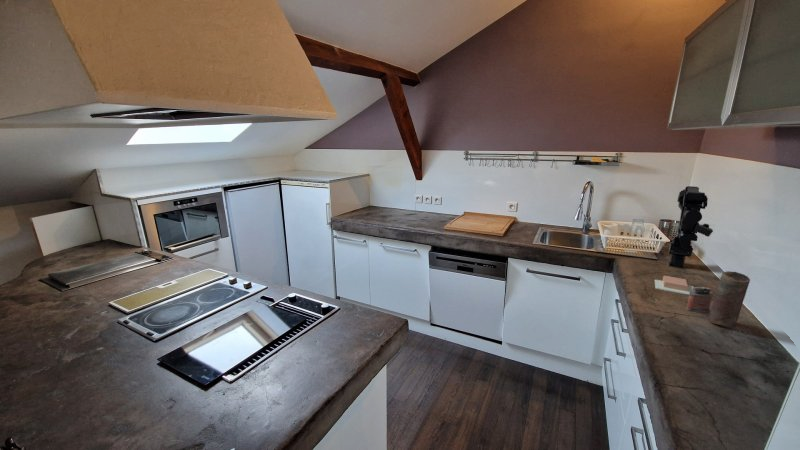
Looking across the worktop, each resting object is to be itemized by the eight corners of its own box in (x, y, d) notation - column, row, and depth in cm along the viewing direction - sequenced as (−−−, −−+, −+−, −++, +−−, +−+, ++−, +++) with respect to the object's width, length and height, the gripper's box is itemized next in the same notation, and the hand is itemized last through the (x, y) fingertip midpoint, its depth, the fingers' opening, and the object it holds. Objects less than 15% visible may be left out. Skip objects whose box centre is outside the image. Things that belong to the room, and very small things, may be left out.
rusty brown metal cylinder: (736, 323, 122) (750, 274, 116) (735, 332, 117) (750, 281, 111) (708, 316, 127) (721, 268, 122) (706, 324, 122) (719, 275, 117)
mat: (654, 280, 157) (654, 279, 157) (692, 287, 149) (693, 286, 149) (655, 288, 149) (655, 287, 149) (696, 296, 142) (696, 295, 141)
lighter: (704, 307, 133) (710, 285, 130) (711, 312, 130) (717, 289, 127) (683, 307, 134) (688, 285, 131) (689, 311, 130) (695, 289, 128)
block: (663, 275, 155) (664, 282, 149) (685, 279, 151) (687, 286, 144) (662, 280, 156) (663, 287, 150) (684, 284, 151) (686, 291, 145)
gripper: (716, 225, 142) (708, 258, 146) (711, 216, 156) (704, 247, 160) (682, 221, 149) (676, 254, 153) (680, 214, 163) (675, 243, 167)
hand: (683, 249), depth 158 cm, fingers closed
